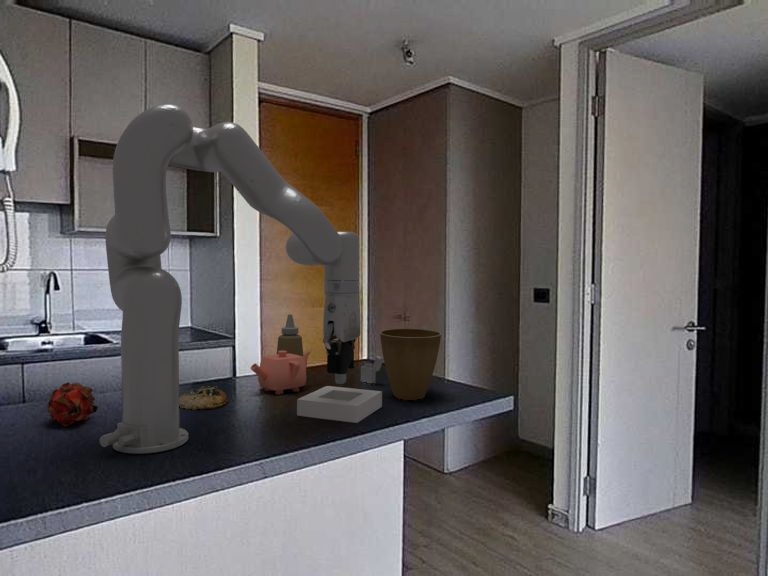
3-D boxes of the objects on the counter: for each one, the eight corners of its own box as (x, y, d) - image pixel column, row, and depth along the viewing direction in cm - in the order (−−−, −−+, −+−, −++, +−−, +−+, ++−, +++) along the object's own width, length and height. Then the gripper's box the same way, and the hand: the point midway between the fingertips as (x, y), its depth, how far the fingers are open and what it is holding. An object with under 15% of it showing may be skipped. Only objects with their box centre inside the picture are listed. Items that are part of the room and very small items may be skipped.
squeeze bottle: (273, 377, 159) (273, 313, 158) (302, 375, 162) (302, 313, 161) (276, 383, 151) (277, 316, 151) (306, 381, 154) (307, 315, 153)
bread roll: (218, 395, 137) (218, 376, 136) (235, 412, 128) (235, 391, 127) (171, 404, 130) (170, 383, 130) (185, 421, 122) (185, 400, 121)
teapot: (296, 398, 135) (296, 356, 135) (249, 395, 137) (249, 354, 137) (312, 385, 150) (312, 347, 149) (269, 383, 151) (269, 345, 151)
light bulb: (355, 383, 127) (355, 338, 126) (351, 388, 121) (351, 342, 121) (330, 382, 127) (330, 338, 127) (325, 387, 122) (325, 341, 121)
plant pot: (366, 396, 138) (367, 331, 137) (408, 387, 148) (409, 326, 147) (410, 408, 127) (411, 338, 126) (452, 397, 137) (454, 332, 137)
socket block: (357, 423, 115) (357, 406, 115) (297, 415, 120) (297, 399, 120) (381, 406, 129) (382, 391, 128) (326, 400, 134) (326, 385, 133)
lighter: (360, 382, 154) (360, 353, 153) (364, 381, 155) (365, 352, 155) (379, 386, 149) (380, 356, 149) (384, 385, 150) (384, 355, 150)
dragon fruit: (73, 420, 120) (79, 444, 110) (35, 402, 115) (37, 426, 106) (99, 387, 122) (107, 408, 112) (63, 368, 117) (67, 388, 107)
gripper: (340, 290, 114) (339, 379, 115) (372, 287, 130) (371, 365, 131) (307, 289, 116) (306, 376, 117) (342, 286, 132) (342, 362, 133)
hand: (340, 369), depth 124 cm, fingers closed on light bulb, 5 cm apart
